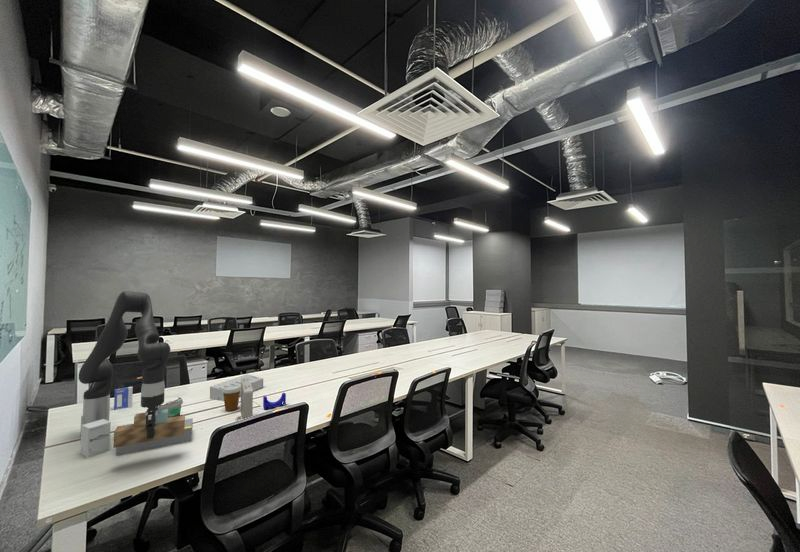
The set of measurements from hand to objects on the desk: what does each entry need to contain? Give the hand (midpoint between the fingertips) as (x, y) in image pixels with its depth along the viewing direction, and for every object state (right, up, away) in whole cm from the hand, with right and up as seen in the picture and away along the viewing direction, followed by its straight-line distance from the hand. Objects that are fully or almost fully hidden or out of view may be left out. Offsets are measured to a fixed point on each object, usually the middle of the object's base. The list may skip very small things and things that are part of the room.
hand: (151, 434), depth 128 cm
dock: (-9, -11, +14) cm, 20 cm away
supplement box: (-28, -11, +5) cm, 30 cm away
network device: (+21, -12, +35) cm, 43 cm away
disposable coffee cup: (+4, -12, +54) cm, 56 cm away
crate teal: (+3, +5, +2) cm, 6 cm away
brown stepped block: (0, -1, 0) cm, 1 cm away
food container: (-18, -12, +38) cm, 43 cm away
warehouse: (-7, -13, +83) cm, 84 cm away
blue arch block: (+27, -13, +59) cm, 66 cm away
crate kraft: (-3, +5, -2) cm, 6 cm away
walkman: (-58, -12, +53) cm, 80 cm away
